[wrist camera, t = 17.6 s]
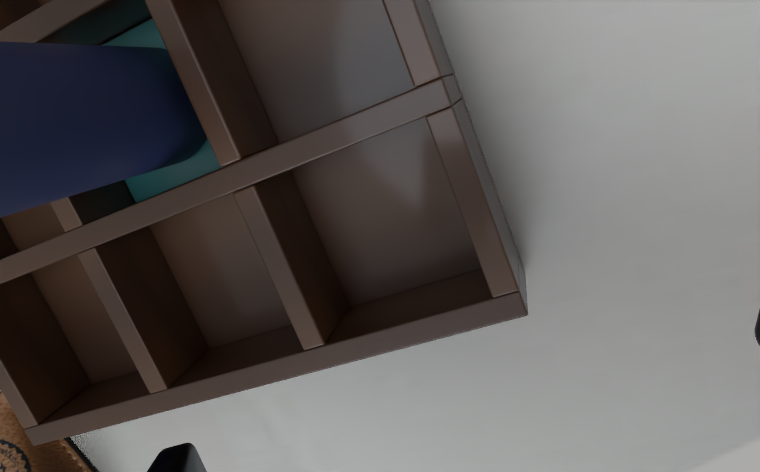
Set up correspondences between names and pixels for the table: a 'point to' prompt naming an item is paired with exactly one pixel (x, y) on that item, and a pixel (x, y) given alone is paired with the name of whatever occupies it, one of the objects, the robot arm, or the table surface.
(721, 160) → the table surface
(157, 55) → the navy round peg
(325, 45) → the grid
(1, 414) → the sunglasses case
